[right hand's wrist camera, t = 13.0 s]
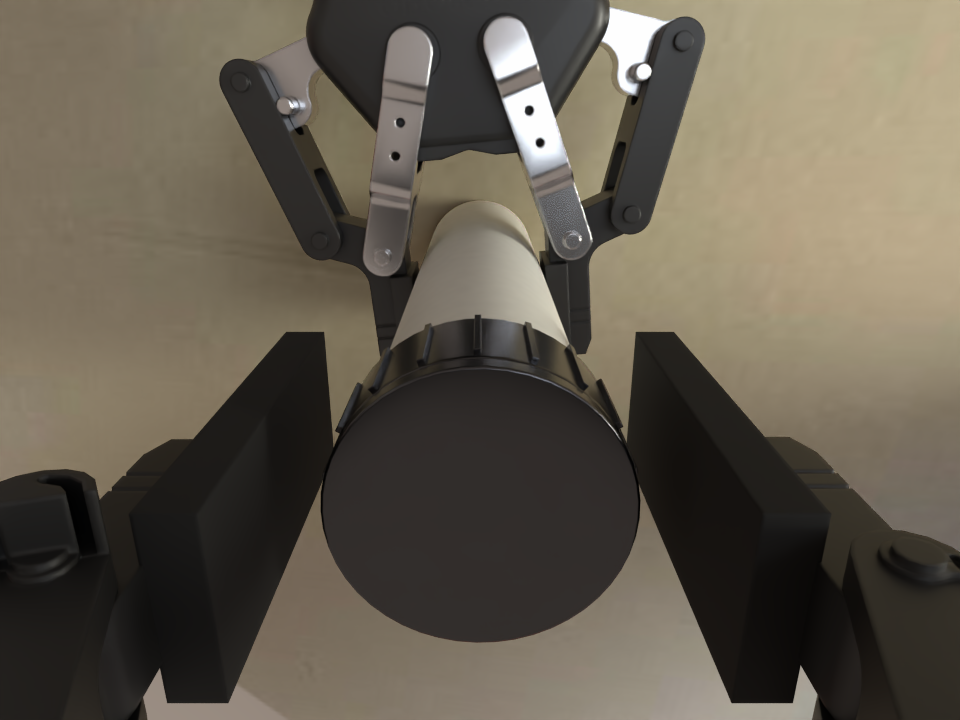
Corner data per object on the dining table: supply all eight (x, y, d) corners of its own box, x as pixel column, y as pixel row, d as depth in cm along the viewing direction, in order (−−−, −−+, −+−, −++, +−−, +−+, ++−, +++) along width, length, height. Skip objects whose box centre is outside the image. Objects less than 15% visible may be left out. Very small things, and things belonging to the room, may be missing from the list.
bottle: (410, 257, 29) (290, 517, 10) (473, 178, 27) (457, 314, 9) (487, 317, 29) (498, 651, 11) (550, 243, 28) (674, 482, 10)
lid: (292, 460, 12) (252, 538, 10) (459, 254, 11) (454, 290, 9) (497, 598, 13) (500, 695, 11) (672, 423, 12) (715, 494, 10)
